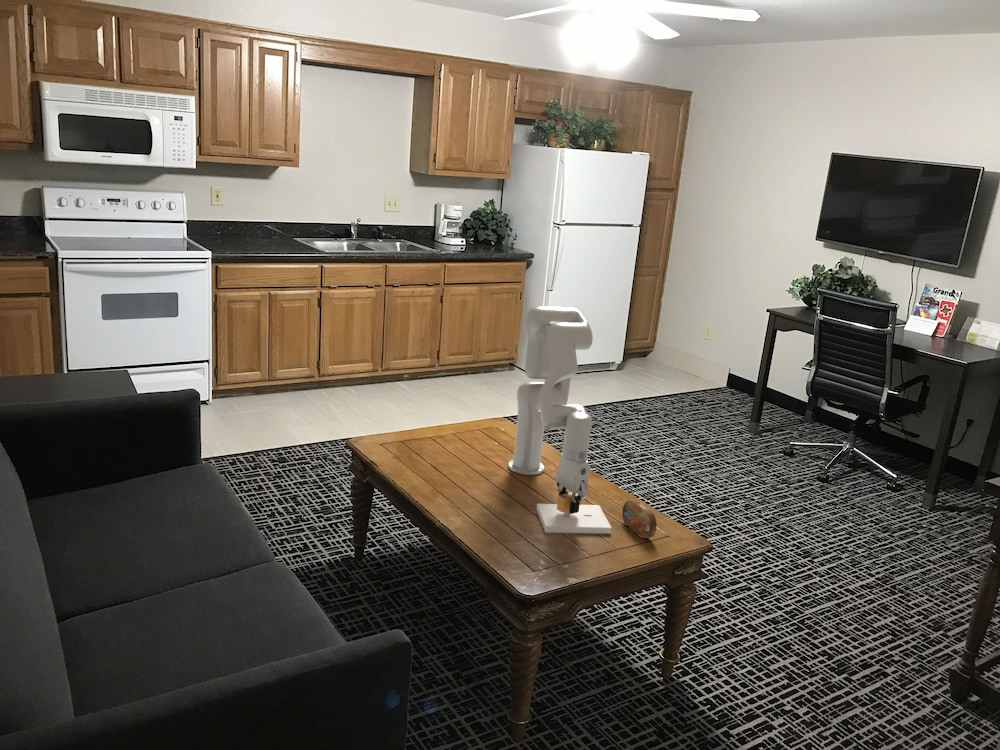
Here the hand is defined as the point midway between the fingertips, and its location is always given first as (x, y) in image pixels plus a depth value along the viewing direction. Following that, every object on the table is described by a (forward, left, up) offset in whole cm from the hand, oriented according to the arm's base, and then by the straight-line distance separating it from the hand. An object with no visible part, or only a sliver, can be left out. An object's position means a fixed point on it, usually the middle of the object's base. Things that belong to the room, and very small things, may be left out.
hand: (567, 508), depth 244 cm
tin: (+6, +21, -5) cm, 22 cm away
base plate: (0, +2, -4) cm, 5 cm away
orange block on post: (0, 0, 0) cm, 0 cm away
